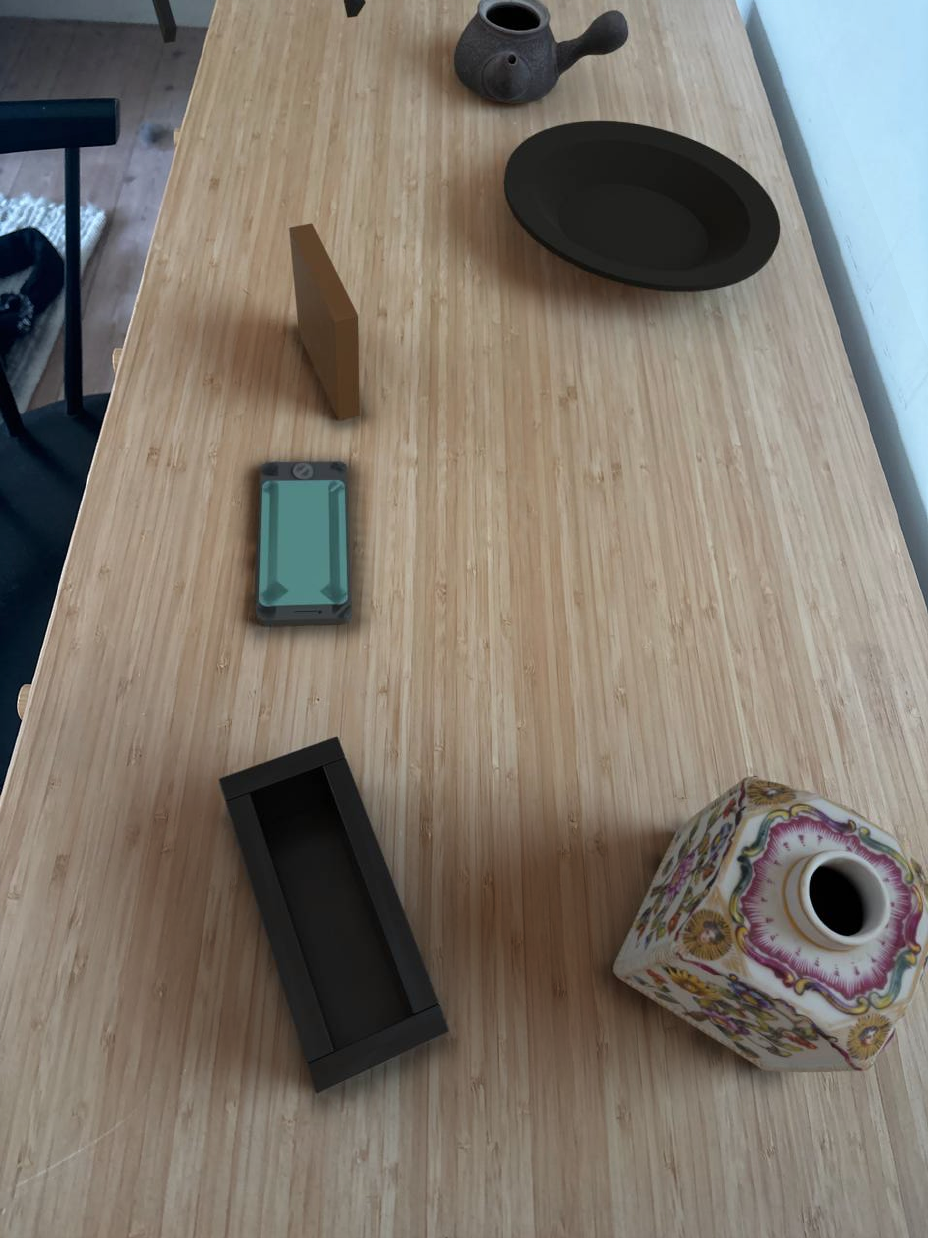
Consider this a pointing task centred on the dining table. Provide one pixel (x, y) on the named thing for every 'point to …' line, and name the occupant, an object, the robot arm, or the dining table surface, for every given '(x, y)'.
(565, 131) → the plate
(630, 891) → the dining table surface
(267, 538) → the smartphone
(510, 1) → the teapot
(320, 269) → the thin brown wooden plank
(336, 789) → the black open box
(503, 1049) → the dining table surface
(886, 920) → the decorative jar
